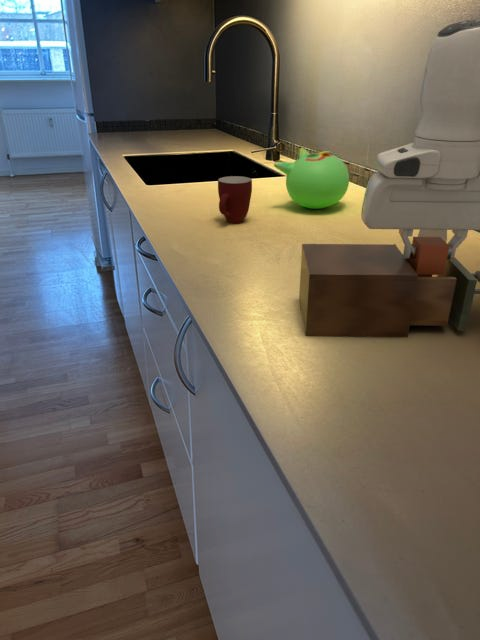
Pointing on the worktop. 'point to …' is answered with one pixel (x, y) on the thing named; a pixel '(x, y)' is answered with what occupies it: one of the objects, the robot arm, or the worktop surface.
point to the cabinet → (356, 290)
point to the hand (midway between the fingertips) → (427, 257)
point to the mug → (234, 197)
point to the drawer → (445, 296)
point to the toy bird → (315, 179)
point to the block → (430, 255)
